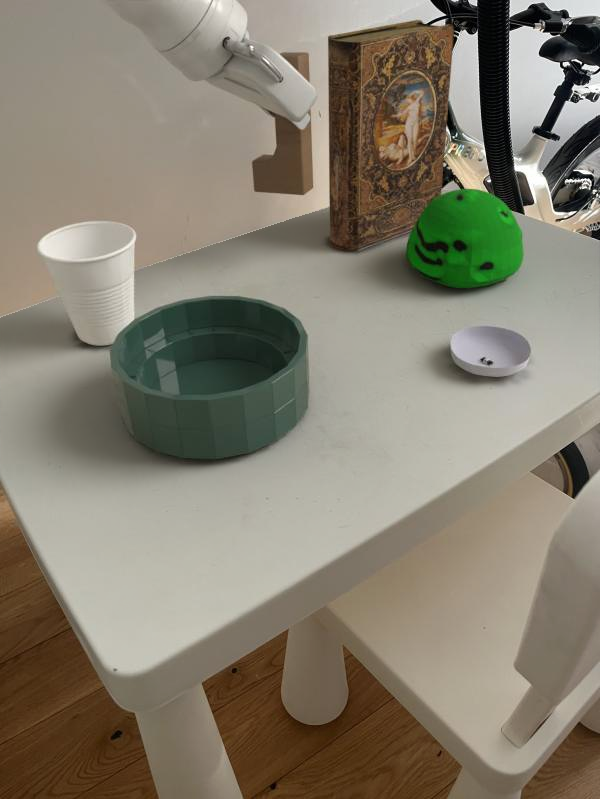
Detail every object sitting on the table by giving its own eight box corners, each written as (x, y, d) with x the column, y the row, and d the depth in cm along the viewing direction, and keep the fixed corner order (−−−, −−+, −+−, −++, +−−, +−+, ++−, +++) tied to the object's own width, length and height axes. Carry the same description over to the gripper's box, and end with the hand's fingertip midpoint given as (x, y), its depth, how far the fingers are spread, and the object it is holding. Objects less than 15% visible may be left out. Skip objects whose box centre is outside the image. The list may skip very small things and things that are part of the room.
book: (350, 254, 95) (352, 43, 81) (323, 241, 99) (320, 37, 84) (438, 221, 103) (455, 23, 88) (411, 210, 107) (422, 18, 92)
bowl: (97, 391, 72) (82, 329, 68) (252, 338, 79) (247, 279, 75) (170, 493, 60) (157, 426, 56) (345, 419, 67) (345, 355, 63)
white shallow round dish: (489, 394, 70) (492, 378, 68) (431, 358, 75) (432, 342, 74) (546, 366, 73) (549, 350, 72) (486, 333, 78) (488, 317, 77)
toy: (386, 262, 93) (390, 185, 87) (468, 238, 98) (476, 164, 92) (455, 306, 83) (464, 222, 78) (542, 277, 89) (556, 196, 83)
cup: (109, 302, 87) (90, 213, 80) (170, 325, 82) (156, 232, 75) (41, 339, 80) (15, 246, 74) (103, 367, 75) (81, 269, 69)
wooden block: (314, 188, 89) (309, 52, 81) (304, 195, 86) (298, 56, 79) (264, 184, 91) (255, 52, 83) (253, 192, 89) (243, 56, 81)
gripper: (275, 20, 66) (360, 114, 76) (180, -6, 80) (262, 76, 90) (234, 79, 67) (324, 165, 77) (148, 44, 81) (233, 120, 91)
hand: (290, 117), depth 84 cm, fingers closed on wooden block, 4 cm apart
